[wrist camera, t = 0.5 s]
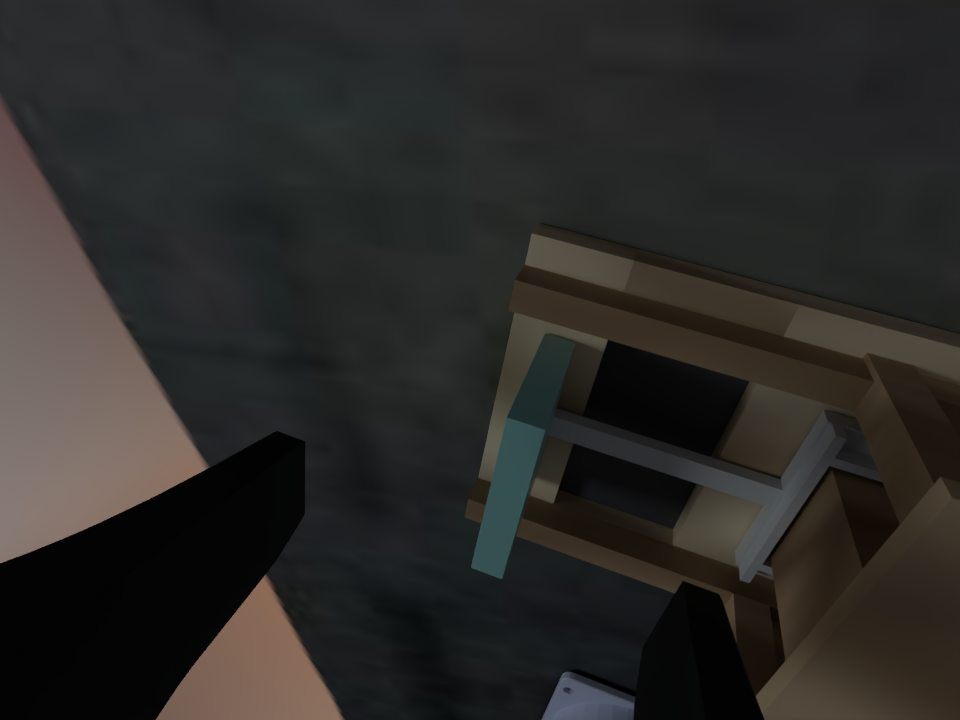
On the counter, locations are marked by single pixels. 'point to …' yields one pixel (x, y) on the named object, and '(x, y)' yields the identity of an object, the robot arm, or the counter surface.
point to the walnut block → (827, 548)
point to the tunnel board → (747, 459)
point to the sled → (651, 465)
